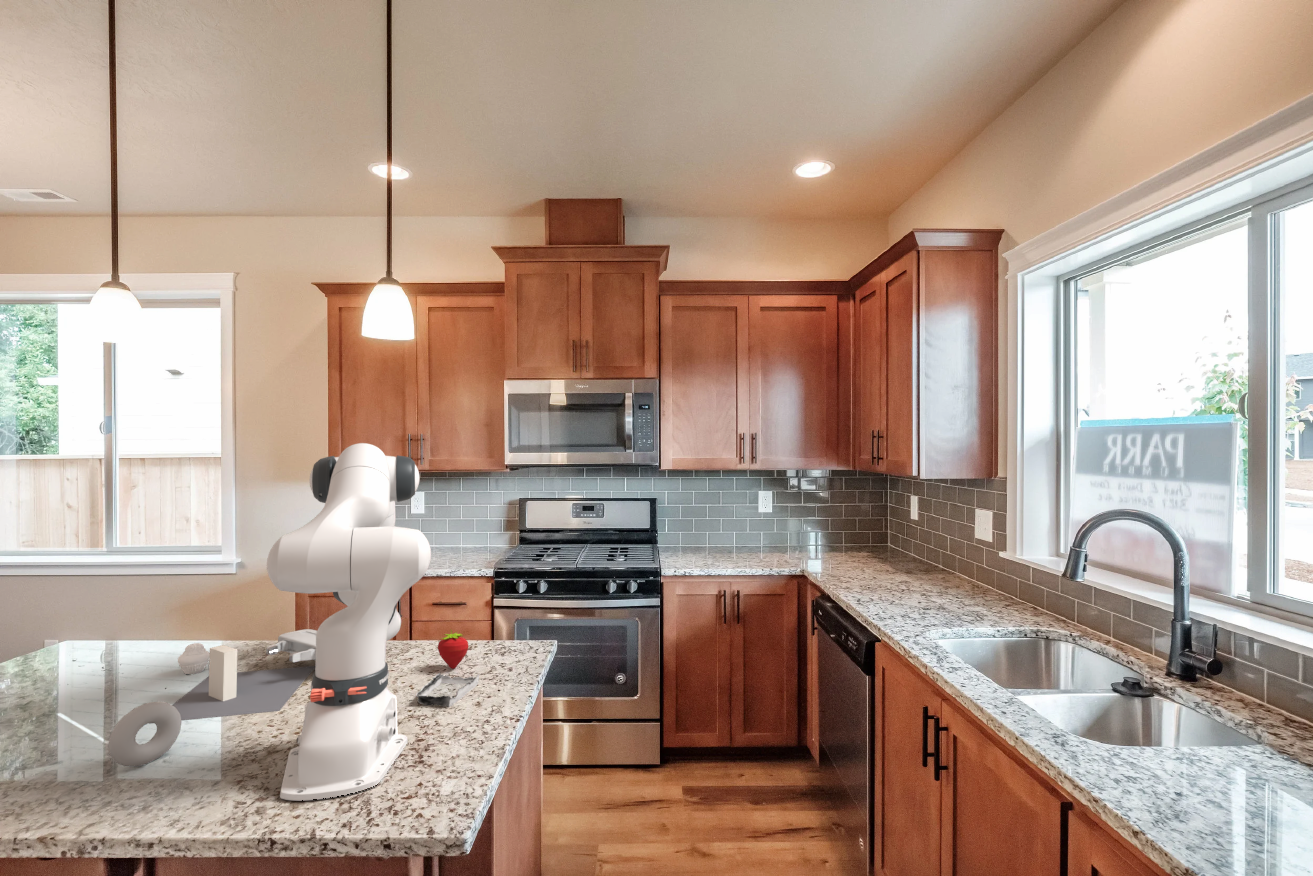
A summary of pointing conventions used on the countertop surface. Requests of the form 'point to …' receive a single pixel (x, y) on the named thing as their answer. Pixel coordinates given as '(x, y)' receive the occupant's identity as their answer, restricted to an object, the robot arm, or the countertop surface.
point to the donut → (127, 728)
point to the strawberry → (453, 649)
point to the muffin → (194, 658)
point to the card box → (223, 672)
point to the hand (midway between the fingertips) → (279, 654)
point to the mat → (244, 694)
